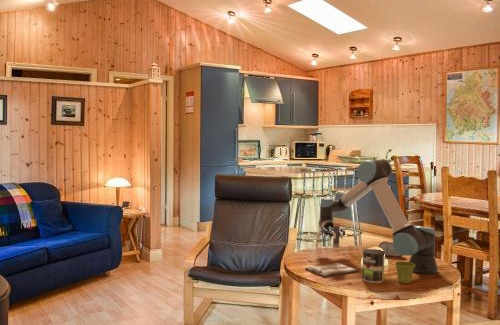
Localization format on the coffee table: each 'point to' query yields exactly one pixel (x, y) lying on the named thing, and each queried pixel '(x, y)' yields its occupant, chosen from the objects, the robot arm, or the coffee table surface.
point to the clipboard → (331, 270)
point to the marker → (336, 229)
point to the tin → (389, 249)
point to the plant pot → (404, 271)
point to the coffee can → (373, 265)
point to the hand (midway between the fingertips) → (338, 235)
